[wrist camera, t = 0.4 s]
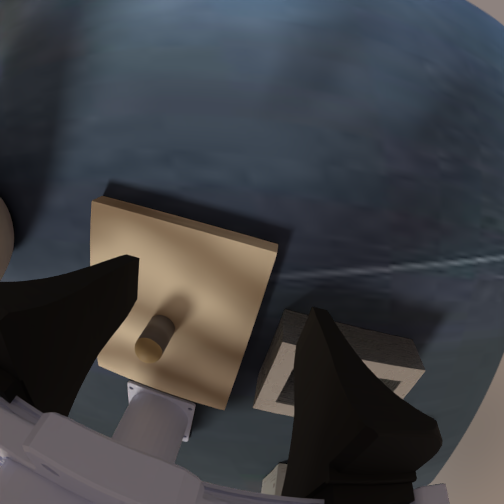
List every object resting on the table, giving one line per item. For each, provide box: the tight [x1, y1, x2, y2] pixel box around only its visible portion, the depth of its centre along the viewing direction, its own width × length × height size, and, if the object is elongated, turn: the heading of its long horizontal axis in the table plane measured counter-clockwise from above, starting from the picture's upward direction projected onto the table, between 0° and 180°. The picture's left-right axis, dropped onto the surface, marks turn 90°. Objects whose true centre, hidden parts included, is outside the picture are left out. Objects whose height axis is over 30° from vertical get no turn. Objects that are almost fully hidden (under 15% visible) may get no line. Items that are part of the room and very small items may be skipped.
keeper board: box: [90, 196, 278, 410], centre depth 22 cm, size 18×14×6 cm
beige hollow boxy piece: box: [253, 309, 426, 417], centre depth 23 cm, size 8×12×4 cm, turn 76°
